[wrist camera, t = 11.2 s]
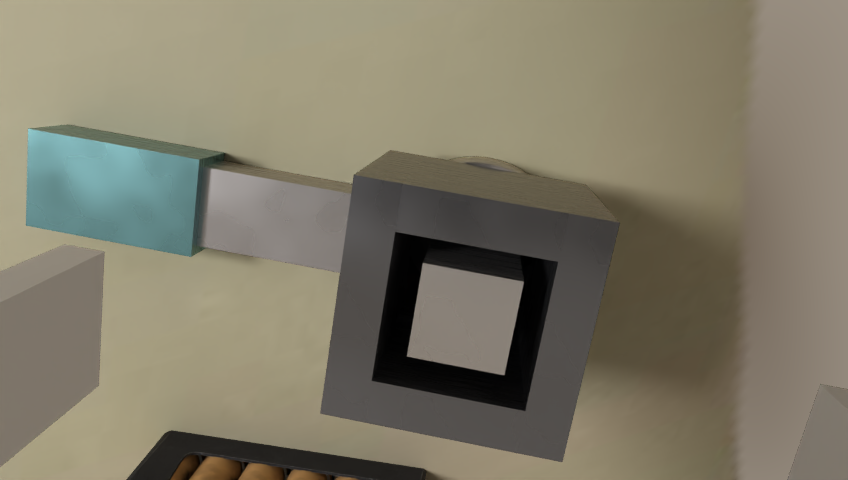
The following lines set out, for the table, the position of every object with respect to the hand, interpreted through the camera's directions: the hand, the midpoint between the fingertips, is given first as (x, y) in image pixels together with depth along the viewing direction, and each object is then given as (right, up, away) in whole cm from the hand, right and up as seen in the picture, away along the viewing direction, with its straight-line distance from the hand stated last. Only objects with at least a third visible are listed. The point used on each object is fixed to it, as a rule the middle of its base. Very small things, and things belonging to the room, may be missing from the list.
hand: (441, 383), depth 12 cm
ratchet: (-5, +4, +13) cm, 14 cm away
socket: (+1, +2, +10) cm, 11 cm away
